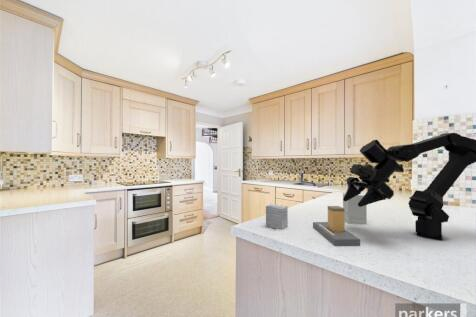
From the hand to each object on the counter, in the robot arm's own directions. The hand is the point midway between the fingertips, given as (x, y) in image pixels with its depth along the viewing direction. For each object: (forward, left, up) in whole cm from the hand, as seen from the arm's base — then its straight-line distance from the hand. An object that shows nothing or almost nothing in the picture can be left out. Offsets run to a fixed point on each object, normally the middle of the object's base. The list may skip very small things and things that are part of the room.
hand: (350, 203), depth 73 cm
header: (+4, +4, -12) cm, 13 cm away
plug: (+4, +4, -11) cm, 13 cm away
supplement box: (+4, -19, -12) cm, 23 cm away
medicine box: (+25, +10, -12) cm, 29 cm away
